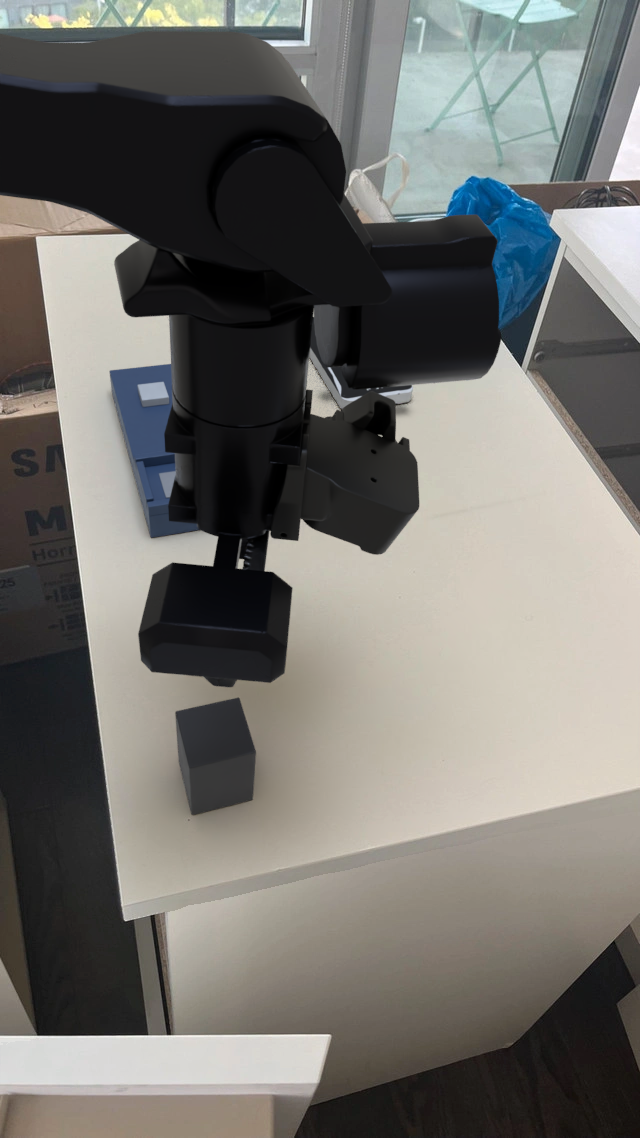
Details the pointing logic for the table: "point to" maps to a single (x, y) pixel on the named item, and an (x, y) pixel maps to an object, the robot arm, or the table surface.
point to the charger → (215, 755)
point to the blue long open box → (149, 440)
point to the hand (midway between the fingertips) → (233, 616)
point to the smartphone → (339, 385)
